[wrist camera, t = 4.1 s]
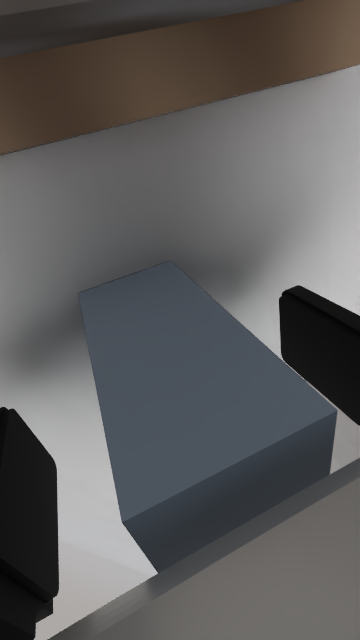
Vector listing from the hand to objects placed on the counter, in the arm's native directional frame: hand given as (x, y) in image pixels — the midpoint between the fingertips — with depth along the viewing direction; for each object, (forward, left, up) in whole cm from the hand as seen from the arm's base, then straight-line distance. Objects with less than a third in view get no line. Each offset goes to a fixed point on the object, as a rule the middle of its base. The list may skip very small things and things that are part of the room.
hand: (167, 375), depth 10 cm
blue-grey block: (0, 0, -4) cm, 4 cm away
